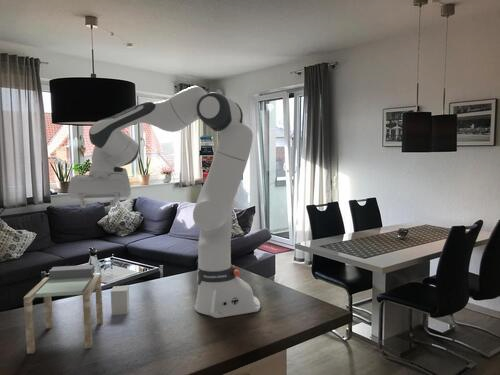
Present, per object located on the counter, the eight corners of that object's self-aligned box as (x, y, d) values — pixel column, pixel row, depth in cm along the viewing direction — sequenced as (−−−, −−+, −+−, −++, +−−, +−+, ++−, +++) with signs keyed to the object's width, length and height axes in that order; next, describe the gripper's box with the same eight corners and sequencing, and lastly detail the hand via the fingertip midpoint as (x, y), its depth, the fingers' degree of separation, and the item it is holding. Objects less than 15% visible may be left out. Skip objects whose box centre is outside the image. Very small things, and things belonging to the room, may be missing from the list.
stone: (129, 308, 136) (128, 285, 136) (127, 314, 131) (126, 290, 131) (114, 309, 135) (113, 286, 135) (111, 315, 131) (110, 291, 130)
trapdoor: (94, 276, 125) (94, 264, 125) (82, 294, 109) (81, 281, 109) (53, 278, 123) (53, 267, 123) (35, 297, 107) (34, 284, 107)
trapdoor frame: (102, 322, 125) (100, 274, 124) (91, 348, 109) (88, 293, 107) (47, 326, 123) (44, 277, 121) (27, 353, 106) (23, 297, 105)
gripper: (69, 169, 137) (62, 201, 128) (130, 168, 140) (128, 199, 132) (73, 181, 142) (66, 212, 133) (132, 180, 145) (130, 210, 136)
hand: (97, 206), depth 132 cm, fingers open, 8 cm apart
